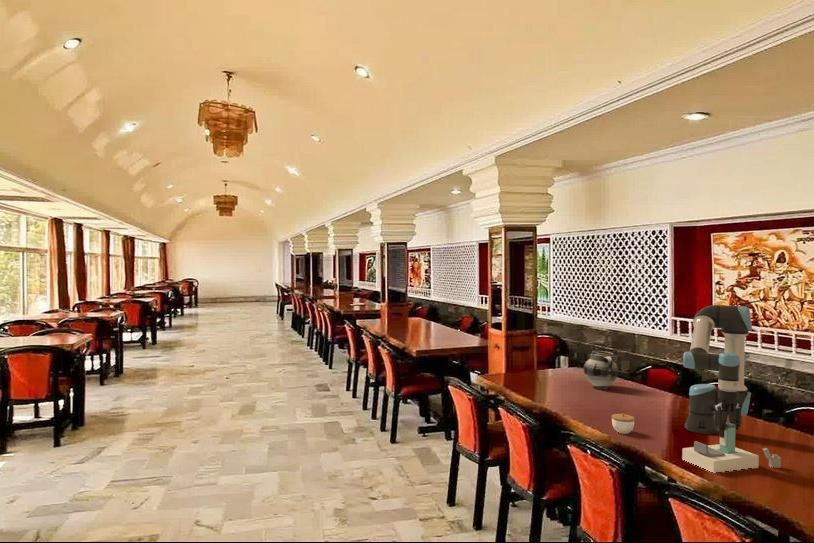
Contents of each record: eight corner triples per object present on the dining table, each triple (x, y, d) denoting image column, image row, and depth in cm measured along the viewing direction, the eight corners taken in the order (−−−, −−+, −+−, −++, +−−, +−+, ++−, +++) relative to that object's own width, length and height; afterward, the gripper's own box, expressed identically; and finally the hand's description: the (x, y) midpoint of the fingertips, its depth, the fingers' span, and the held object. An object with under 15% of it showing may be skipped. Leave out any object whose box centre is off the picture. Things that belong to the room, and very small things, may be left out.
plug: (726, 449, 232) (727, 422, 232) (735, 452, 229) (735, 424, 228) (719, 450, 231) (719, 422, 231) (727, 453, 227) (728, 425, 227)
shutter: (708, 449, 232) (709, 438, 232) (724, 455, 224) (725, 444, 224) (692, 450, 229) (692, 440, 229) (707, 457, 222) (707, 446, 222)
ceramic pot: (575, 383, 385) (576, 348, 384) (605, 383, 387) (606, 348, 387) (594, 393, 356) (595, 355, 356) (627, 392, 359) (628, 355, 359)
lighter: (777, 466, 227) (778, 447, 227) (781, 467, 225) (781, 448, 225) (761, 466, 226) (762, 447, 226) (765, 468, 225) (765, 448, 224)
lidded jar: (620, 436, 265) (620, 417, 265) (607, 429, 275) (607, 411, 275) (639, 434, 268) (639, 415, 268) (624, 428, 278) (625, 410, 278)
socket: (725, 454, 240) (725, 443, 240) (758, 467, 225) (758, 455, 225) (682, 459, 233) (682, 448, 233) (713, 473, 218) (713, 461, 218)
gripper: (720, 392, 224) (719, 449, 224) (751, 390, 229) (750, 445, 229) (705, 388, 231) (704, 443, 231) (736, 386, 236) (734, 440, 236)
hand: (727, 444), depth 230 cm, fingers closed on plug, 4 cm apart
